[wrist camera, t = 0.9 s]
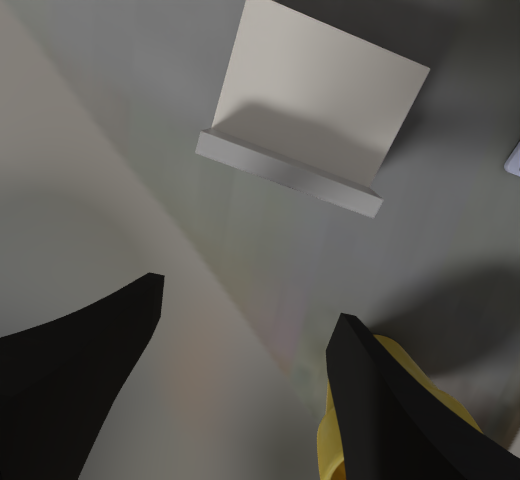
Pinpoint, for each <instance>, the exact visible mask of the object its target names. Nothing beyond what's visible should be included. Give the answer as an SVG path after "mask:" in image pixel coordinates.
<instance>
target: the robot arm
mask: <svg viewBox="0 0 520 480" xmlns="http://www.w3.org/2000/svg"><path fill="white" fill-rule="evenodd" d="M504 168H505V170H506V171H507V172H509V173H512V174H514V175H517V176H519V177H520V171H519V168H520V142H519V143H518V145H517V146H516V148H515V149H514V151H513V152H512V154H511V155H510V157H509V158H508V159H507V161H506V163H505V166H504ZM164 277H165V276H164V275H159V274H154V273H147V274H146V275H144V276H142V277H140V278H139V279H137V280H135V281H134V282H132V283H130V284H128V285H127V286H125V287H123V288H121V289H120V290H118V291H116V292H114V293H112V294H111V295H109V296H107V297H105V298H103V299H101V300H99V301H97V302H95V303H93V304H91V305H89V306H87V307H85V308H82V309H80V310H78V311H76V312H73V313H71V314H69V315H66V316H64V317H61V318H59V319H56V320H54V321H51V322H48V323H45V324H42V325H39V326H36V327H33V328H30V329H27V330H24V331H21V332H18V333H15V334H11V335H8V336H4V337H1V338H0V480H78V478H79V475H80V473H81V471H82V469H83V466H84V464H85V462H86V459H87V457H88V455H89V453H90V451H91V449H92V446H93V444H94V442H95V440H96V438H97V436H98V433H99V431H100V429H101V427H102V425H103V423H104V421H105V419H106V417H107V415H108V413H109V410H110V408H111V406H112V404H113V402H114V400H115V398H116V397H117V395H118V393H119V391H120V389H121V388H122V386H123V384H124V383H125V381H126V379H127V378H128V376H129V375H130V373H131V371H132V369H133V368H134V366H135V365H136V363H137V361H138V360H139V358H140V356H141V354H142V353H143V351H144V350H145V348H146V346H147V344H148V343H149V341H150V339H151V337H152V335H153V333H154V330H155V328H156V326H157V324H158V321H159V319H160V317H161V306H162V297H163V287H164ZM326 362H327V373H328V379H329V384H330V389H331V394H332V398H333V403H334V407H335V412H336V417H337V421H338V426H339V430H340V436H341V442H342V448H343V457H344V465H345V474H346V480H520V458H518V457H516V456H515V455H513V454H512V453H510V452H509V451H507V450H506V449H504V448H503V447H501V446H500V445H498V444H497V443H495V442H494V441H492V440H491V439H490V438H488V437H487V436H485V435H484V434H482V433H481V432H480V431H478V430H477V429H475V428H474V427H473V426H471V425H470V424H469V423H467V422H466V421H465V420H463V419H462V418H461V417H460V416H458V415H457V414H456V413H454V412H453V411H452V410H450V409H449V408H448V407H447V406H446V405H444V404H443V403H442V402H441V401H439V400H438V399H437V398H436V397H435V396H434V395H433V394H431V393H430V392H429V391H428V390H427V389H426V388H425V387H423V386H422V385H421V384H420V383H419V382H418V381H417V380H416V379H415V378H414V377H413V376H412V375H411V374H410V373H409V372H408V371H407V370H406V369H405V368H404V367H403V366H402V365H401V364H400V363H399V362H398V361H397V360H396V359H395V358H394V357H393V356H392V355H391V354H390V353H389V352H388V351H387V350H386V349H385V347H384V346H383V345H382V344H381V343H380V342H379V341H378V340H377V339H376V337H375V336H374V335H373V334H372V333H371V332H370V331H369V329H368V328H367V327H366V326H365V325H364V324H363V323H362V322H361V321H360V320H359V319H358V318H357V317H356V316H354V315H349V314H344V313H341V314H340V317H339V319H338V322H337V324H336V327H335V329H334V332H333V334H332V337H331V339H330V341H329V344H328V346H327V349H326Z"/></svg>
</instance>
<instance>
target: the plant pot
mask: <svg viewBox="0 0 520 480" xmlns="http://www.w3.org/2000/svg"><path fill="white" fill-rule="evenodd" d="M374 336H375V337H376V339H377V340H378V341H379V342H380V343H381V344H382V345H383V346H384V347H385V349H386V350H387V351H388V352H389V353H390V354H391V355H392V356H393V357H394V358H395V359H396V360H397V361H398V362H399V363H400V364H401V365H402V366H403V367H404V368H405V369H406V370H407V371H408V372H409V373H410V374H411V375H412V376H413V377H414V378H415V379H416V380H417V381H418V382H419V383H420V384H421V385H422V386H423V387H425V388H426V389H427V390H428V391H429V392H430V393H431V394H433V395H434V396H435V397H436V398H437V399H438V400H439V401H441V402H442V403H443V404H444V405H446V406H447V407H448V408H449V409H450V410H452V411H453V412H454V413H456V414H457V415H458V416H460V417H461V418H462V419H463V420H465V421H466V422H467V423H469V424H470V425H471V426H473V427H474V428H475V429H477V430H478V431H480V432H481V433H482V431H481V430H480V428H479V427H478V425H477V424H476V422H475V421H474V419H473V418H472V417H471V415H470V414H469V413H468V411H467V410H466V409H465V408H464V406H463V405H462V404H461V403H460V402H458V401H457V400H456V399H455V398H453V397H452V396H450V395H449V394H447V393H445V392H443V391H441V390H439V389H438V388H437V387H436V386H435V385H434V384H433V382H432V381H431V380H430V379H429V378H428V377H427V376H426V374H425V373H424V372H423V371H422V370H421V369H420V368H419V366H418V365H417V364H416V363H415V362H414V361H413V360H412V358H411V357H410V356H409V355H408V354H407V352H406V351H405V350H404V349H403V348H402V347H401V346H400V345H399V344H398V343H397V342H396V341H394V340H393V339H390V338H388V337H385V336H382V335H374ZM482 434H483V433H482ZM317 450H318V463H319V472H320V480H346V474H345V465H344V457H343V448H342V442H341V436H340V430H339V426H338V421H337V417H336V412H335V407H334V403H333V398H332V394H331V389H330V384H329V379H328V389H327V403H326V415H325V416H324V417H323V419H322V421H321V423H320V425H319V429H318V433H317Z"/></svg>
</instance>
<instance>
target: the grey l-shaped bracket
mask: <svg viewBox="0 0 520 480" xmlns="http://www.w3.org/2000/svg"><path fill="white" fill-rule="evenodd" d="M429 71H430V68H428V67H426V66H423V65H421V64H419V63H416V62H414V61H412V60H409V59H407V58H405V57H402V56H400V55H398V54H395V53H393V52H391V51H388V50H386V49H384V48H381V47H379V46H377V45H374V44H372V43H370V42H367V41H365V40H363V39H360V38H358V37H356V36H353V35H351V34H349V33H346V32H344V31H342V30H339V29H337V28H335V27H332V26H330V25H328V24H325V23H323V22H321V21H318V20H316V19H314V18H311V17H309V16H307V15H304V14H302V13H300V12H297V11H295V10H293V9H290V8H288V7H286V6H283V5H281V4H279V3H276V2H274V1H272V0H246V3H245V6H244V10H243V14H242V17H241V21H240V25H239V29H238V32H237V36H236V40H235V43H234V47H233V51H232V54H231V58H230V62H229V65H228V69H227V73H226V76H225V80H224V84H223V88H222V91H221V95H220V99H219V102H218V106H217V110H216V113H215V117H214V121H213V124H212V128H210V129H206V130H203V131H201V133H200V136H199V140H198V144H197V148H196V152H195V153H197V154H199V155H202V156H205V157H208V158H210V159H213V160H216V161H219V162H221V163H224V164H227V165H229V166H232V167H235V168H238V169H240V170H243V171H246V172H248V173H251V174H254V175H257V176H259V177H262V178H265V179H267V180H270V181H273V182H276V183H278V184H281V185H284V186H287V187H289V188H292V189H295V190H297V191H300V192H303V193H306V194H308V195H311V196H314V197H316V198H319V199H322V200H325V201H327V202H330V203H333V204H335V205H338V206H341V207H344V208H346V209H349V210H352V211H355V212H357V213H360V214H363V215H365V216H368V217H371V218H374V217H375V215H376V213H377V211H378V210H379V208H380V206H381V204H382V202H383V200H384V199H382V198H381V197H380V196H379V195H378V194H376V193H375V192H374V191H373V190H371V189H370V188H369V187H370V185H371V183H372V181H373V179H374V177H375V175H376V174H377V172H378V170H379V168H380V166H381V164H382V162H383V160H384V158H385V156H386V154H387V152H388V150H389V148H390V147H391V145H392V143H393V141H394V139H395V137H396V135H397V133H398V131H399V129H400V127H401V125H402V123H403V121H404V119H405V118H406V116H407V114H408V112H409V110H410V108H411V106H412V104H413V102H414V100H415V98H416V96H417V94H418V92H419V90H420V89H421V87H422V85H423V83H424V81H425V79H426V77H427V75H428V73H429Z"/></svg>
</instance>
